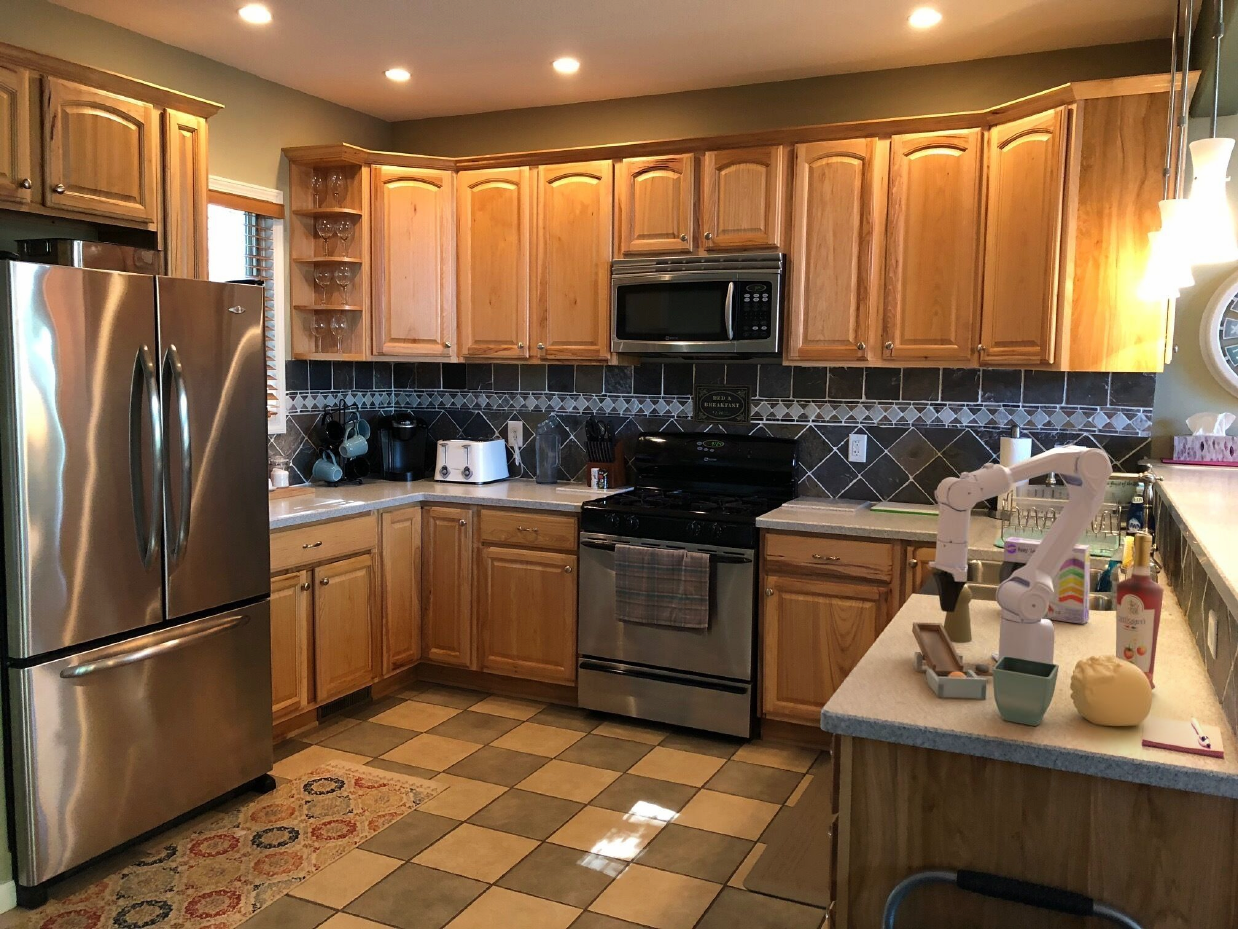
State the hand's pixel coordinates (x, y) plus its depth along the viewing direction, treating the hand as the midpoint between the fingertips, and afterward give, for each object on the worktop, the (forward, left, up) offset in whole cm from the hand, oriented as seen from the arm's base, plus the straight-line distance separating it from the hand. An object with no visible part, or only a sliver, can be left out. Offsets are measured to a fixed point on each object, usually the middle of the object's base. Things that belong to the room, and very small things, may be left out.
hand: (947, 611), depth 190 cm
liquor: (-30, +13, -11) cm, 34 cm away
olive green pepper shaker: (-8, -19, -11) cm, 23 cm away
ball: (+2, +17, -9) cm, 19 cm away
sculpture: (-19, +29, -11) cm, 36 cm away
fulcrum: (+2, +4, -10) cm, 12 cm away
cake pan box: (-33, -40, -11) cm, 53 cm away
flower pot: (-5, +30, -11) cm, 32 cm away
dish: (+2, +16, -10) cm, 19 cm away
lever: (0, +3, -8) cm, 9 cm away
